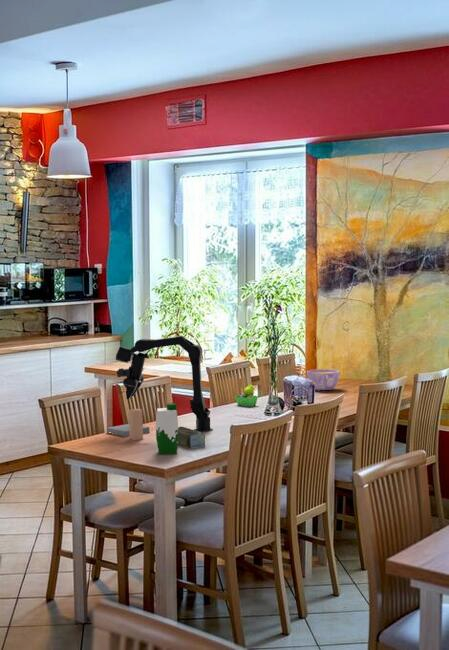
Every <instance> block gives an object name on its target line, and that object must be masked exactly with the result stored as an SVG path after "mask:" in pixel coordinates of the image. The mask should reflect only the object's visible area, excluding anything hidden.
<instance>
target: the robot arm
mask: <svg viewBox="0 0 449 650" xmlns="http://www.w3.org/2000/svg"><path fill="white" fill-rule="evenodd" d="M177 345H178V346H180V347H181V348H182V349H183V350H184V351H185V352H187V354H188V355H187V356H188V358H189V362H190V365H191V375H192V389H193V391H192V392H193V397H192V398H190V400H189V404H190V406H189V407H190V410H191V412H192V413H193V414H194V415H195V417H196V418H195V419H196V420H195V428H193V430H195V431H198V432H202V433H204V432H208V431H213V430H214V428H211V417H210V415H211V410H210V409H209V408H208V407H207V406H206V402H205V397H204V396H203V385H202V369H201V362H202V359H203V358H202V355H203V348H202V346H201V345H199V344H195V343H193V342H192V341H191V340H189V339H188V338H186V337H185V336H184V335H179V336H174V337H173V336H171V337H166V338H158V339H157V338H156V339H152V338H141V339H138V340H136V341H135V343H134V346H132V347H130V348H127V347H124V346H119V348H118V350H117V352H116V355H115V360H116V361H118V362H122V363H125V364H128V363H129V362H131V363H130V366H128V368H123V367H122V368H118V369H117V370H116V375H117V378H121V377H126V378H124V379H123V381H122V384H123V386H124V387H125V391H126V392H125V393H126V394H125V395H126V400H130V398H131V397H134V396H135V394H136V393H137V392H138V390H139V388H140V387H141V386H142V384H143V382H144V381H145V376H144V375H143V371H144V370H145V369H144V365H145V360H146V359H150V357H151V356H150V355H149V353H148V352H146V351H149V350H153V349H155V348H163V347H164V348H165V347H171V346H177ZM136 352H138V353H136ZM144 352H145V353H144Z"/></svg>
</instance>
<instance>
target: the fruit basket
mask: <svg viewBox="0 0 449 650" xmlns="http://www.w3.org/2000/svg"><path fill="white" fill-rule="evenodd" d="M243 392H244V393H241V394H240V395H235V396H234V398H235V400H236V403H237V406H239V405H241V406H242V407H246V406H251V407H254V406H253V405H257V401H258V398H259V396H257V395H254V394H255V386H254V385H253V384H248V385H247V386H246V387H245V388H244V389H243ZM241 406H240V407H241Z"/></svg>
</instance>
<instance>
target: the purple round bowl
mask: <svg viewBox="0 0 449 650" xmlns="http://www.w3.org/2000/svg"><path fill="white" fill-rule="evenodd" d="M340 373H341V371H340V370H338V369H329V368H328V369H326V368H325V369H323V368H322V369H321V368H320V369H309V370H307V371H306V375H307V379H308V378H309V379H311V380H312V381H313V382H314V383H315V390H316V391H317V390H329V389H330V390H333V389H335V388H336V387H337V385H338V382H339V378H340Z"/></svg>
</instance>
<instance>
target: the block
mask: <svg viewBox="0 0 449 650" xmlns="http://www.w3.org/2000/svg"><path fill="white" fill-rule="evenodd" d="M143 423H144V422H143V409H141V408H132V409H128V424H129V432H130V436H129V440H133V441H138V440H139V441H140V440H143V439H144V434H143V426H144V425H143Z"/></svg>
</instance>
